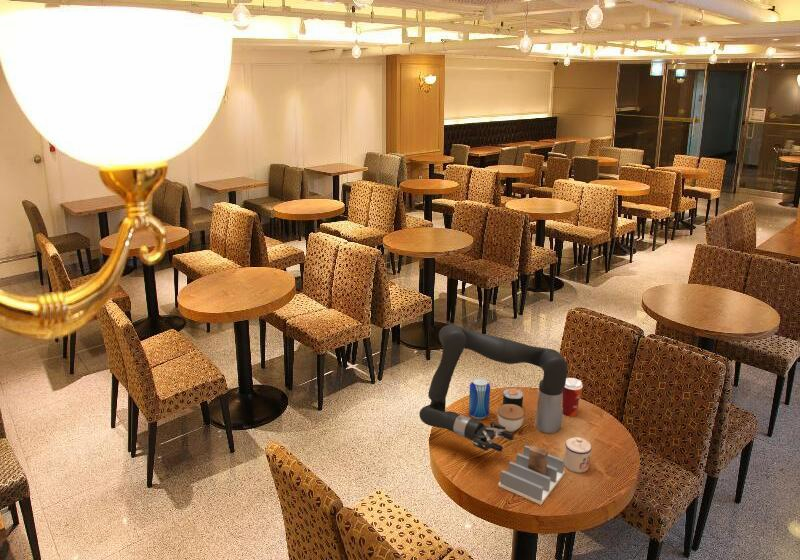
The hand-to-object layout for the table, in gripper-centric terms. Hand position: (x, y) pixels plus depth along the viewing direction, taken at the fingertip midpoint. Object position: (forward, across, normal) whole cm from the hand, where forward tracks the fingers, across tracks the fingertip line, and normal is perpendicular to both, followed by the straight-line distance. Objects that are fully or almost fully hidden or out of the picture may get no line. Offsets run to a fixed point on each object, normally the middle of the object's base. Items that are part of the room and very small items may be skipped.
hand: (507, 443), depth 210 cm
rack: (+10, 0, +11) cm, 15 cm away
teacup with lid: (+20, +19, +11) cm, 30 cm away
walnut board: (+12, 0, +10) cm, 15 cm away
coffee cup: (+4, +50, +11) cm, 51 cm away
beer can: (-26, +26, +11) cm, 38 cm away
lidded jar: (-11, +25, +11) cm, 30 cm away
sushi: (-17, +39, +11) cm, 44 cm away
